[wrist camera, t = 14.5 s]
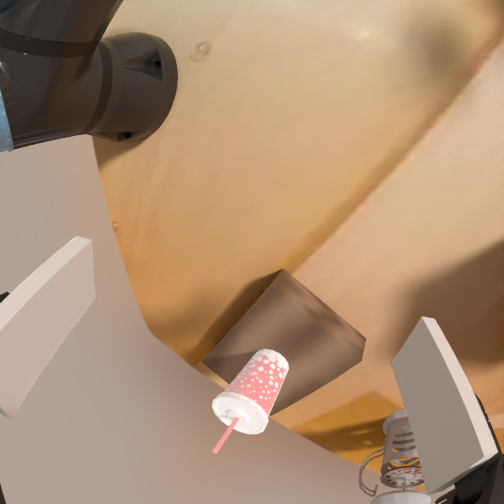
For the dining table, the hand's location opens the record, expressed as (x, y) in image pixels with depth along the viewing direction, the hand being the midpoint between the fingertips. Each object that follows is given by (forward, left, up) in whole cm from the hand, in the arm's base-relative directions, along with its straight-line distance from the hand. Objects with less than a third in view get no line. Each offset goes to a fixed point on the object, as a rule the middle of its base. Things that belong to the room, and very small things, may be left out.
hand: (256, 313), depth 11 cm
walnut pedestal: (+7, -20, -21) cm, 29 cm away
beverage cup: (+7, -20, -17) cm, 27 cm away
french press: (+31, -18, -21) cm, 41 cm away
